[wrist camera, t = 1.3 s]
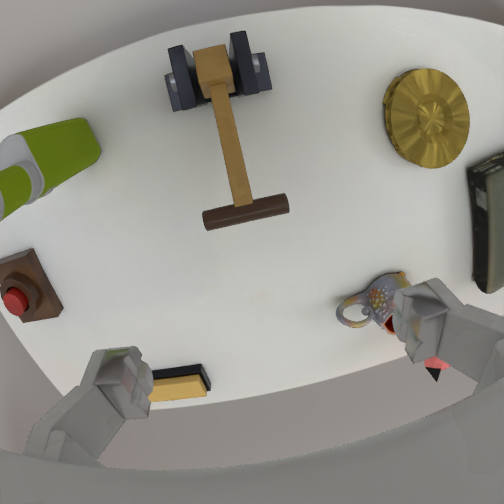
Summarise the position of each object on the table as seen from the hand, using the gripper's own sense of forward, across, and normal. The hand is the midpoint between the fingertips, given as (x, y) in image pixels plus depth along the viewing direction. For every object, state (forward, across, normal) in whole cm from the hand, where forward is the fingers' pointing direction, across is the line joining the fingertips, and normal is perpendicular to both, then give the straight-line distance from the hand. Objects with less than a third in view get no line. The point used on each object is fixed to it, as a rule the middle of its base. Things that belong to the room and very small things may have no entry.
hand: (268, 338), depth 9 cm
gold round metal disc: (+27, -23, -2) cm, 35 cm away
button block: (+26, +33, +8) cm, 43 cm away
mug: (+27, -14, +21) cm, 37 cm away
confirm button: (+23, +33, +8) cm, 41 cm away
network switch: (+27, -42, +13) cm, 51 cm away
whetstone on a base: (+26, +19, +30) cm, 44 cm away
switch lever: (+14, 0, -4) cm, 15 cm away
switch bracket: (+26, 0, -9) cm, 28 cm away
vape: (+26, +16, -7) cm, 32 cm away
